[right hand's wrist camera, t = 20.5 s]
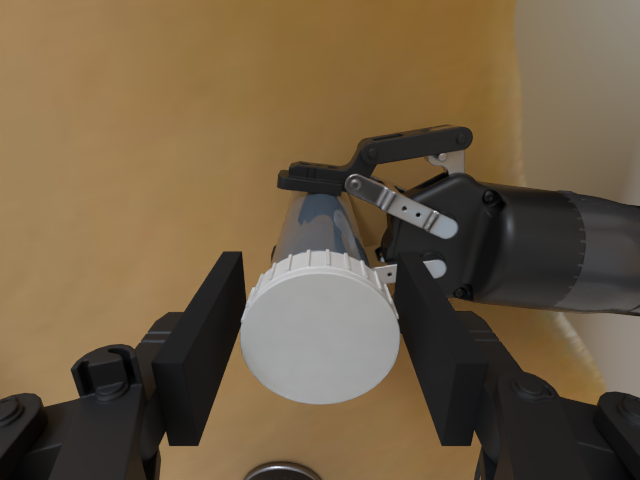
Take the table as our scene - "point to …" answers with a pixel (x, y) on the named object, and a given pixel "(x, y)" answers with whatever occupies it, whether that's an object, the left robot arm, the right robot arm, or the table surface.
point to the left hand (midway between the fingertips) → (276, 219)
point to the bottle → (320, 227)
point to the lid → (320, 328)
